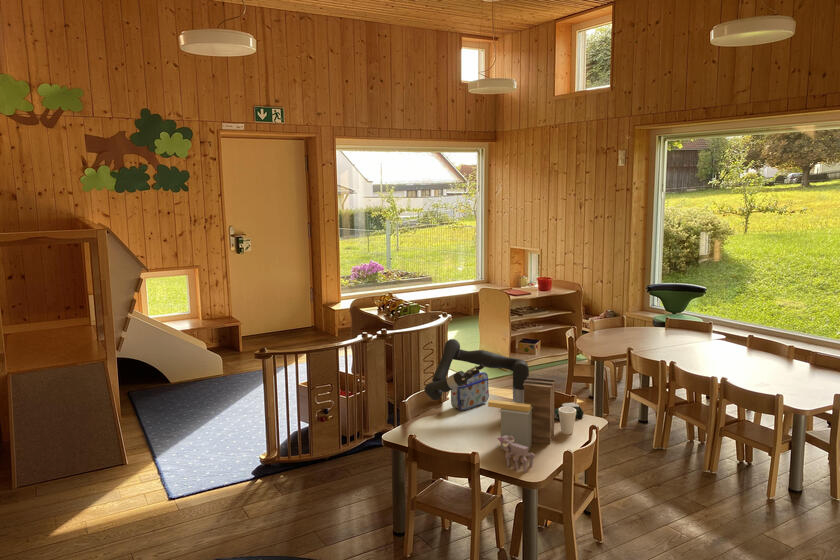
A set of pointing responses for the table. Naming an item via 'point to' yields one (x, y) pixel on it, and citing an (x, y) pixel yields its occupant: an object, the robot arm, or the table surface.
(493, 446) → the table surface
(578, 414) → the miniature car
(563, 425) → the foam cup
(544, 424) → the cabinet
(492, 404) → the slat
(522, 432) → the grey upright carton
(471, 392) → the lunch box
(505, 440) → the toy sheep
